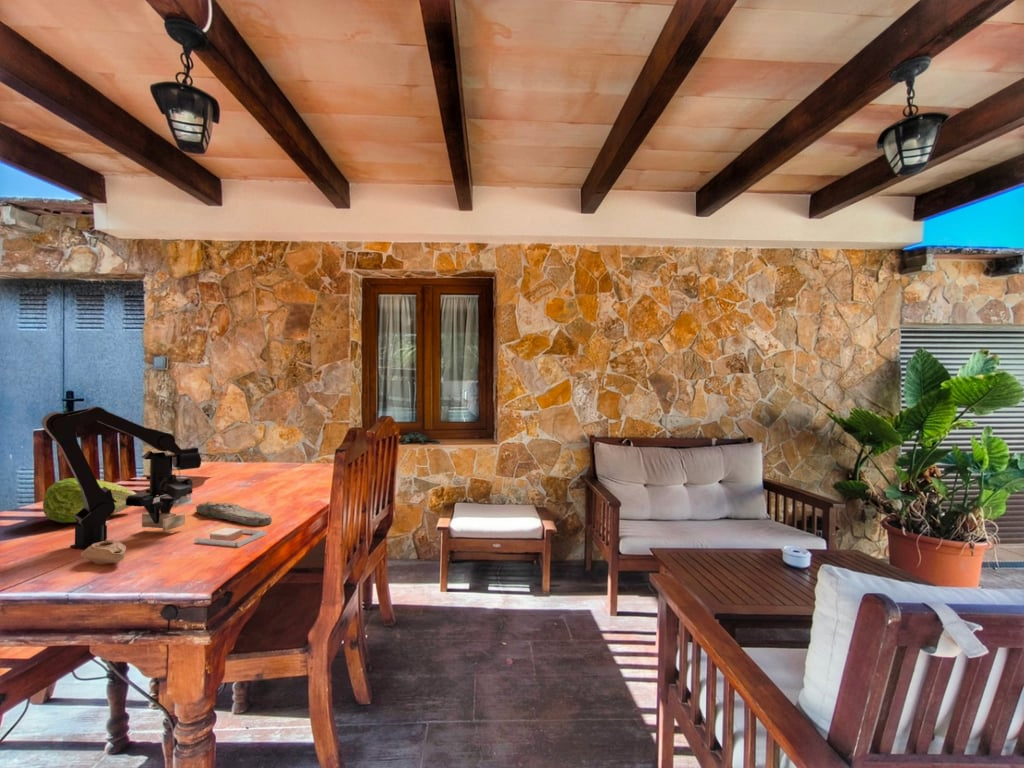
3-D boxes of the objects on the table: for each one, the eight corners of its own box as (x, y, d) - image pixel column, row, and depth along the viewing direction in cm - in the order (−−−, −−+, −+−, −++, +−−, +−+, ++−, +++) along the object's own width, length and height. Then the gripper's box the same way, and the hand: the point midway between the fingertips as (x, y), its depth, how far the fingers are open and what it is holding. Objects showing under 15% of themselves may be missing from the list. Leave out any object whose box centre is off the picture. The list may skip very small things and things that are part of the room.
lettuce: (139, 521, 170) (144, 477, 172) (41, 525, 153) (49, 477, 155) (130, 518, 182) (136, 477, 184) (38, 522, 165) (46, 477, 167)
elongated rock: (253, 534, 161) (279, 527, 170) (254, 517, 161) (281, 512, 170) (185, 513, 176) (213, 508, 185) (187, 498, 176) (214, 494, 185)
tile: (227, 543, 148) (227, 535, 148) (209, 541, 149) (210, 533, 149) (242, 537, 154) (242, 529, 154) (225, 535, 155) (225, 527, 155)
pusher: (165, 531, 152) (165, 517, 152) (135, 528, 154) (135, 515, 154) (184, 524, 158) (184, 511, 158) (155, 522, 161) (155, 510, 161)
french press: (195, 499, 197) (196, 435, 197) (191, 506, 187) (192, 439, 187) (165, 501, 193) (166, 436, 193) (160, 508, 183) (161, 439, 182)
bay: (238, 547, 144) (238, 543, 144) (194, 542, 147) (194, 538, 147) (266, 534, 156) (266, 530, 156) (225, 530, 159) (225, 527, 159)
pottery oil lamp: (100, 572, 123) (85, 547, 123) (89, 576, 131) (74, 553, 130) (139, 550, 130) (125, 527, 130) (126, 555, 137) (112, 533, 137)
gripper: (156, 479, 145) (155, 533, 145) (207, 468, 164) (206, 516, 164) (124, 477, 147) (123, 530, 147) (178, 466, 166) (177, 513, 166)
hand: (160, 522), depth 156 cm, fingers closed on pusher, 2 cm apart
